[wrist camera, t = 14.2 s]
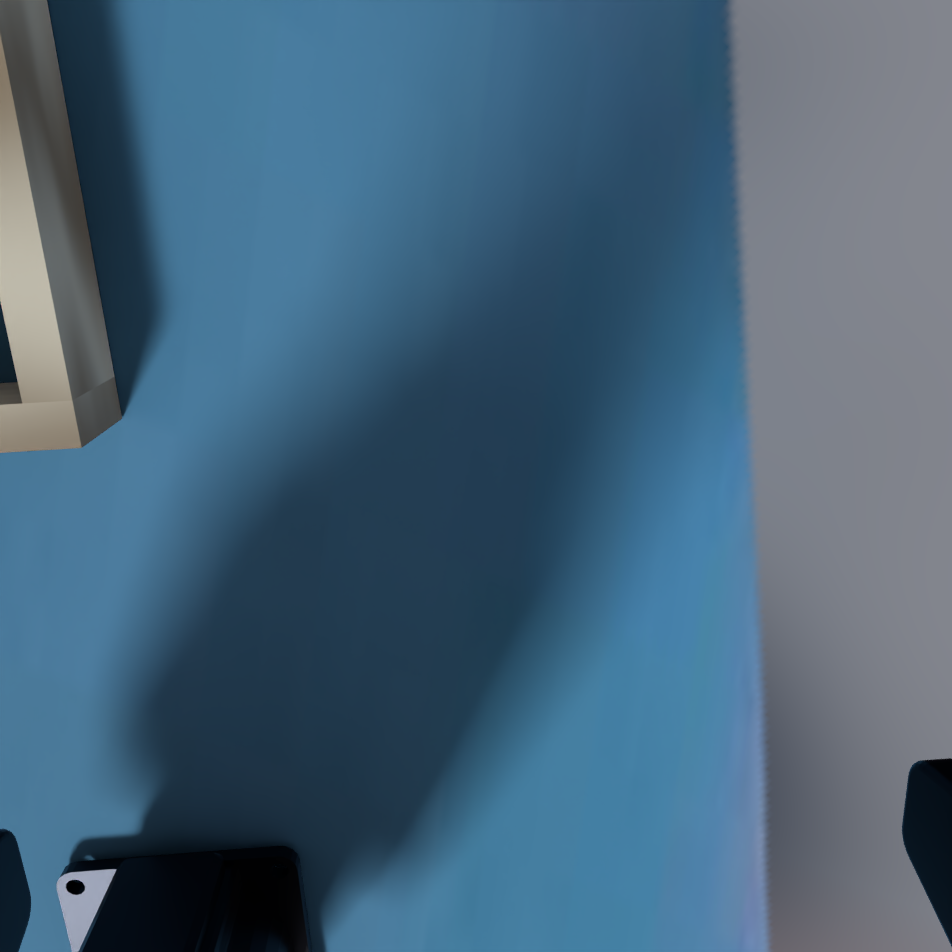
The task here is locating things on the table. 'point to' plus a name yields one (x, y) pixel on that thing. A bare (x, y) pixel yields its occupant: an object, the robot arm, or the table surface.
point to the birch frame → (46, 254)
